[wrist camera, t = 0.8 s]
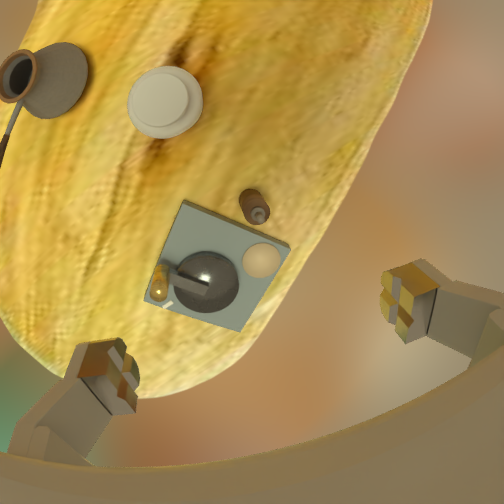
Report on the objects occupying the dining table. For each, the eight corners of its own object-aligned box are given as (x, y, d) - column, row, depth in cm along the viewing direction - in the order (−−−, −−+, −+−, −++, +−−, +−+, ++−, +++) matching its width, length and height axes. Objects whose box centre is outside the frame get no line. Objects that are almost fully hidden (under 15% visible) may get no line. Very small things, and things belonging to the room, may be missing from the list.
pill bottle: (206, 80, 35) (208, 61, 22) (199, 135, 39) (196, 146, 25) (150, 77, 34) (122, 59, 20) (143, 131, 37) (112, 142, 24)
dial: (168, 234, 42) (162, 259, 35) (248, 265, 46) (257, 294, 39) (147, 287, 45) (139, 318, 38) (221, 312, 50) (225, 345, 43)
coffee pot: (44, 43, 27) (-11, 27, 14) (105, 49, 30) (62, 25, 17) (13, 172, 35) (-43, 201, 22) (67, 186, 38) (18, 222, 25)
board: (183, 199, 42) (182, 204, 40) (287, 244, 48) (291, 250, 46) (145, 294, 48) (143, 302, 46) (238, 325, 54) (240, 333, 52)
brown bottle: (245, 185, 43) (255, 202, 35) (265, 194, 44) (279, 213, 36) (235, 205, 44) (242, 226, 36) (255, 214, 45) (266, 237, 37)
